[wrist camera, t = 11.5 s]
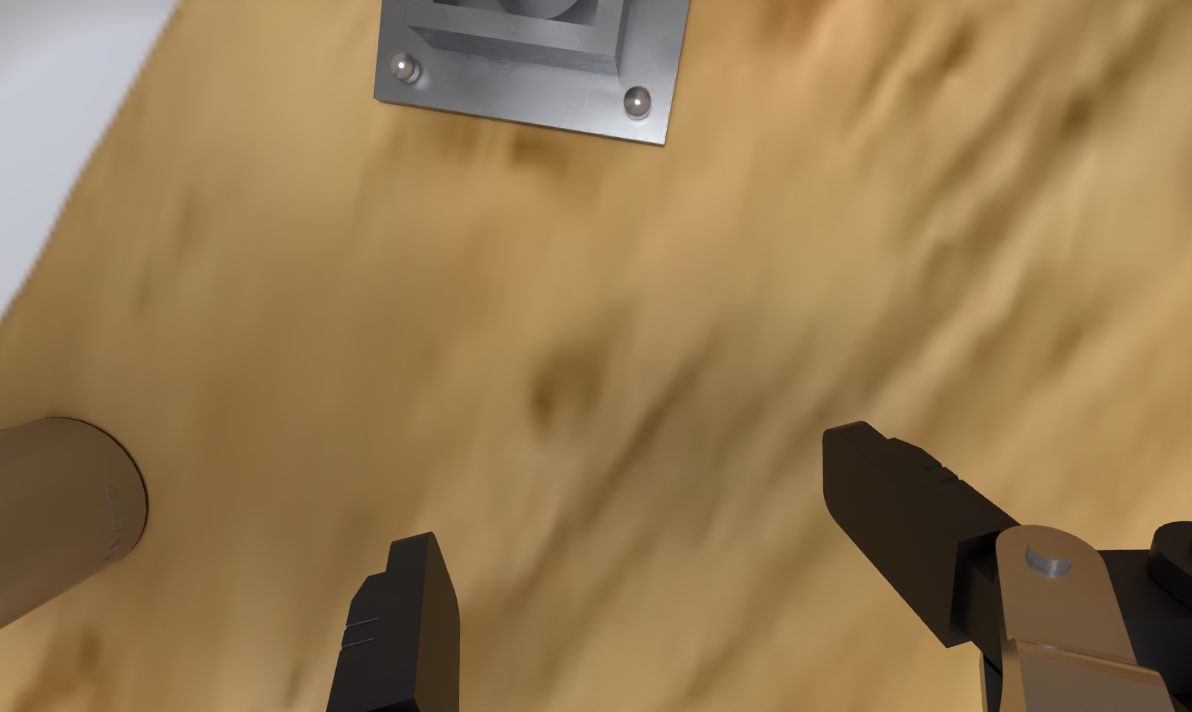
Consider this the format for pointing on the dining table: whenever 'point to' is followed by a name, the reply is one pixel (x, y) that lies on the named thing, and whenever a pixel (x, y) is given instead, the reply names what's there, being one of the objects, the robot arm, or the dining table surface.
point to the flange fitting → (536, 63)
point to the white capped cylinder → (537, 7)
